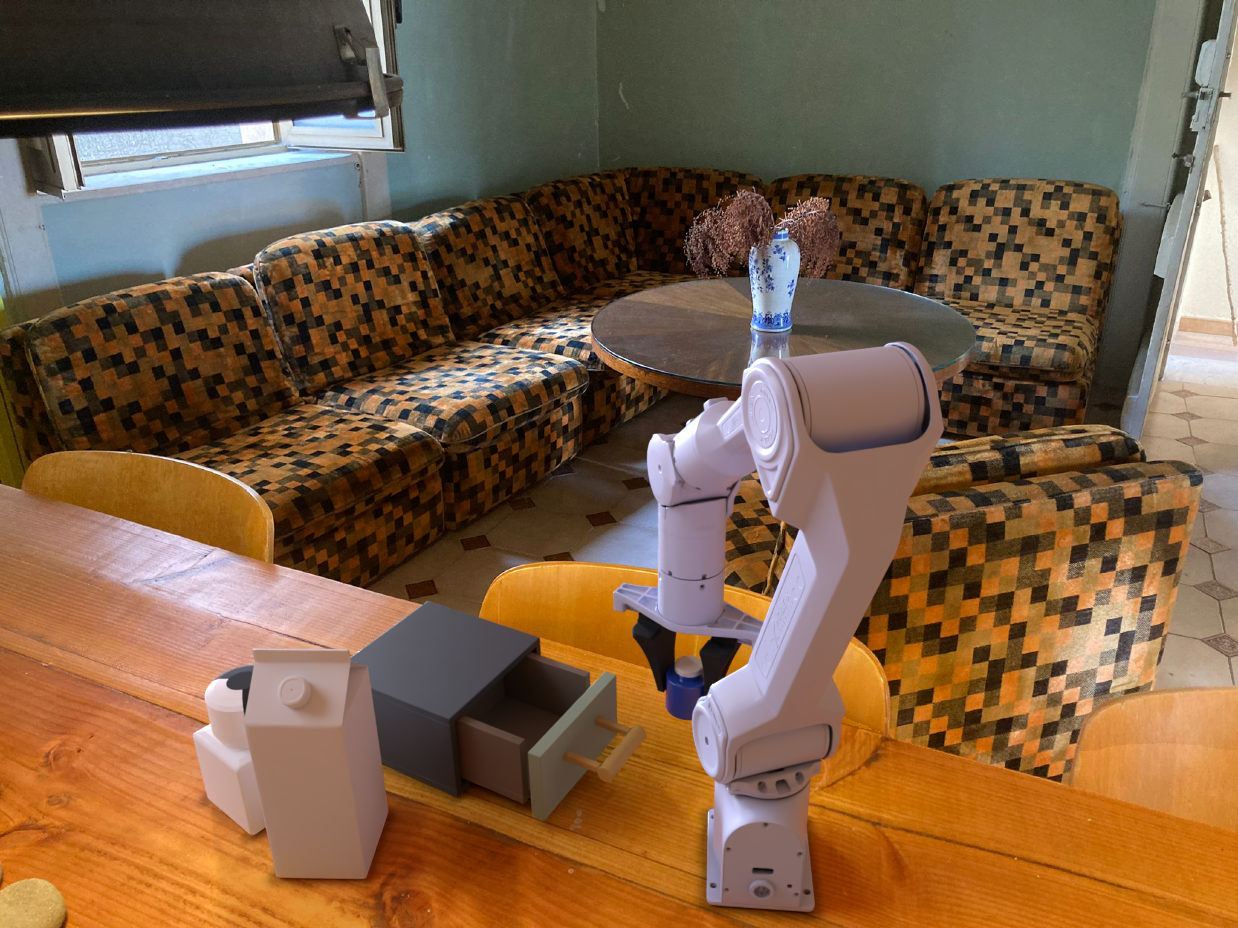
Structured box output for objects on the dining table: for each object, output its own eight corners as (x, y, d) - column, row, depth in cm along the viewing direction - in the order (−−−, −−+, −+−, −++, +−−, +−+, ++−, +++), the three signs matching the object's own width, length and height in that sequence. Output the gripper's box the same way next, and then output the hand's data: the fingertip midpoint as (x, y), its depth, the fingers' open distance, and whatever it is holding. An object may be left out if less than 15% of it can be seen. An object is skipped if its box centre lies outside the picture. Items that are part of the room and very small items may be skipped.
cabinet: (544, 709, 93) (540, 637, 90) (457, 797, 83) (449, 719, 79) (435, 669, 99) (428, 600, 96) (342, 747, 89) (329, 671, 85)
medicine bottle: (279, 754, 88) (257, 644, 83) (326, 789, 84) (305, 676, 79) (206, 799, 83) (178, 684, 78) (252, 838, 79) (225, 720, 74)
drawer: (663, 751, 87) (663, 690, 84) (593, 842, 77) (591, 777, 74) (507, 694, 94) (503, 636, 92) (425, 770, 85) (418, 709, 82)
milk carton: (305, 811, 82) (270, 621, 74) (389, 812, 81) (362, 622, 73) (276, 879, 75) (233, 678, 67) (366, 880, 75) (334, 679, 67)
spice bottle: (711, 721, 87) (712, 678, 85) (664, 719, 87) (664, 676, 85) (711, 692, 90) (712, 650, 89) (666, 690, 91) (667, 648, 89)
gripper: (788, 563, 82) (779, 692, 88) (639, 525, 89) (639, 648, 95) (757, 602, 77) (750, 738, 82) (600, 559, 83) (603, 688, 89)
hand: (688, 693), depth 88 cm, fingers closed on spice bottle, 4 cm apart
